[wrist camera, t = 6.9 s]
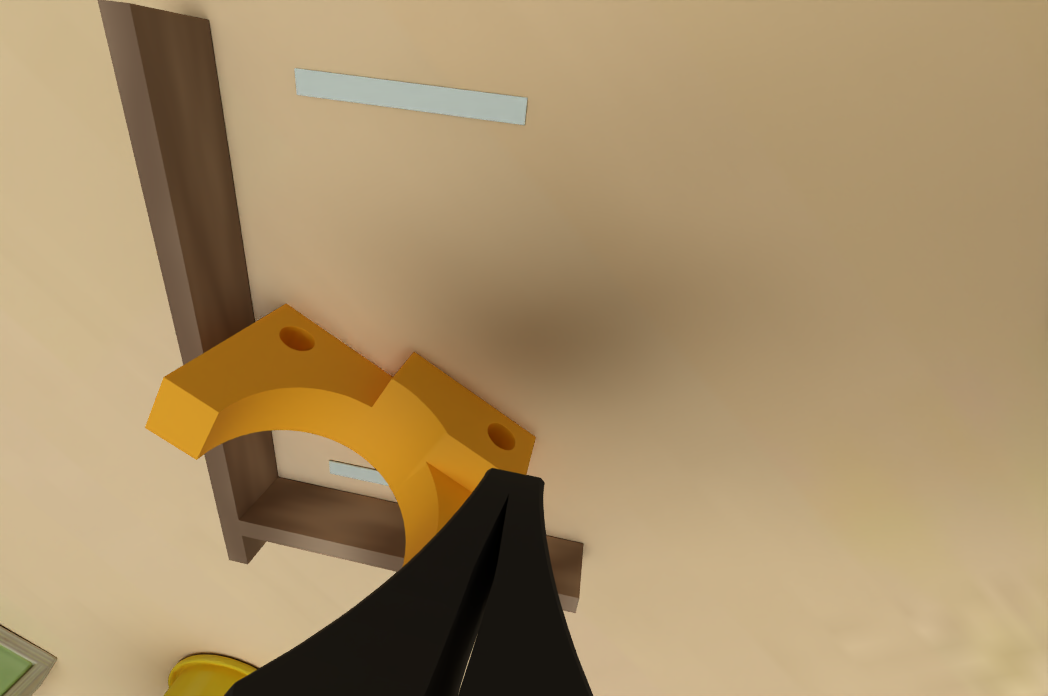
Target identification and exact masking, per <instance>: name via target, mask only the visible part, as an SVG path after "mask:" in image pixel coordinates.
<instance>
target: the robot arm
mask: <svg viewBox="0 0 1048 696" xmlns="http://www.w3.org/2000/svg"><path fill="white" fill-rule="evenodd" d="M543 491H544V481H543V480H542V479H541V478H539V477H534V476H529V475H524V474H520V473H515V472H510V471H505V470H500V469H496V468H491V469H489V470H487V472H486V473H485V475H484V477H483V478H482V480H481V481H480V482H479V484H478V485H477V487H476V488H475V489H474V491H473V492H472V493H471V495H470V496H469V497H468V498H467V500H466V501H465V502H464V503H463V505H462V506H461V507H460V508H459V509H458V511H457V512H456V513H455V514H454V515H453V516H452V517H451V519H450V520H449V521H448V522H447V523H446V524H445V525H444V527H443V528H442V529H441V530H440V531H439V532H438V533H437V534H436V535H435V536H434V537H433V538H432V539H431V540H430V541H429V542H428V543H427V544H426V545H425V546H424V547H423V548H422V549H421V550H420V551H419V552H418V553H417V554H416V555H415V556H414V557H413V558H412V559H411V560H410V561H409V562H408V563H407V564H405V565H404V566H403V567H402V568H401V569H400V570H399V571H398V572H396V573H395V574H394V575H393V576H392V577H391V578H390V579H388V580H387V581H386V582H385V583H384V584H382V585H381V586H380V587H379V588H377V589H376V590H375V591H374V592H372V593H371V594H370V595H369V596H367V597H366V598H365V599H364V600H362V601H361V602H360V603H358V604H357V605H356V606H354V607H353V608H352V609H350V610H349V611H348V612H346V613H345V614H344V615H342V616H341V617H339V618H338V619H336V620H335V621H333V622H332V623H331V624H329V625H328V626H326V627H325V628H323V629H322V630H320V631H319V632H317V633H316V634H314V635H313V636H311V637H310V638H308V639H307V640H305V641H304V642H302V643H301V644H299V645H298V646H296V647H295V648H293V649H291V650H290V651H288V652H286V653H285V654H283V655H281V656H280V657H278V658H276V659H274V660H273V661H271V662H269V663H268V664H266V665H264V666H263V667H261V668H259V669H257V670H256V671H254V672H252V673H251V674H249V675H247V676H245V677H244V678H242V679H240V680H238V681H237V682H235V683H234V684H233V685H232V686H231V688H230V689H229V690H228V691H227V692H226V693H225V695H224V696H593V694H592V691H591V689H590V686H589V684H588V681H587V679H586V676H585V674H584V671H583V669H582V666H581V663H580V661H579V658H578V656H577V653H576V650H575V647H574V644H573V641H572V638H571V635H570V632H569V629H568V626H567V623H566V619H565V616H564V613H563V610H562V606H561V602H560V599H559V595H558V591H557V587H556V583H555V579H554V574H553V570H552V565H551V560H550V555H549V549H548V543H547V537H546V530H545V521H544V509H543ZM476 637H477V638H476ZM475 640H476V641H475ZM474 642H475V644H474ZM473 645H474V647H473ZM472 648H473V651H472ZM471 651H472V654H471ZM470 654H471V657H470ZM469 657H470V660H469ZM468 660H469V663H468ZM467 663H468V666H467ZM466 666H467V669H466ZM465 669H466V673H465V676H464V672H465ZM463 676H464V679H463ZM462 679H463V682H462ZM461 682H462V685H461ZM460 686H461V688H460ZM459 689H460V691H459ZM458 693H459V694H458Z"/></svg>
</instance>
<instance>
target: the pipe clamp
mask: <svg viewBox="0 0 1048 696" xmlns="http://www.w3.org/2000/svg"><path fill="white" fill-rule="evenodd" d="M145 428H146V429H148V430H149V431H151V432H153V433H154V434H156V435H157V436H159V437H161V438H162V439H164V440H166V441H167V442H169V443H170V444H172V445H174V446H175V447H177V448H178V449H180V450H182V451H183V452H185V453H186V454H188V455H190V456H191V457H193V458H194V459H196V460H197V459H198V458H200V457H201V456H202V455H204V454H205V453H206V452H208V451H210V450H211V449H213V448H215V447H216V446H218V445H220V444H222V443H224V442H226V441H228V440H231V439H234V438H236V437H239V436H242V435H246V434H250V433H255V432H261V431H269V430H293V431H302V432H308V433H312V434H316V435H320V436H323V437H326V438H329V439H332V440H334V441H336V442H338V443H341V444H343V445H344V446H346V447H348V448H350V449H352V450H353V451H355V452H356V453H358V454H359V455H360V456H362V457H363V458H364V459H365V460H367V461H368V462H369V463H370V464H371V465H372V466H373V467H374V468H375V469H376V470H377V471H378V472H379V473H380V474H381V475H382V477H383V478H384V479H385V481H386V482H387V483H388V485H389V487H390V488H391V490H392V492H393V493H394V495H395V498H396V500H397V502H398V504H399V507H400V510H401V513H402V517H403V520H404V527H405V536H406V547H405V556H404V563H403V566H404V565H405V564H407V563H408V562H409V561H410V560H411V559H412V558H413V557H414V556H415V555H416V554H417V553H418V552H419V551H420V550H421V549H422V548H423V547H424V546H425V545H426V544H427V543H428V542H429V541H430V540H431V539H432V538H433V537H434V536H435V535H436V534H437V533H438V532H439V531H440V530H441V529H442V528H443V527H444V525H445V524H446V523H447V522H448V521H449V520H450V519H451V517H452V516H453V515H454V514H455V513H456V512H457V511H458V509H459V508H460V507H461V506H462V505H463V503H464V502H465V501H466V500H467V498H468V497H469V496H470V495H471V493H472V492H473V491H474V489H475V488H476V487H477V485H478V484H479V482H480V481H481V480H482V478H483V477H484V475H485V473H486V472H487V470H489V469H491V468H496V469H500V470H505V471H510V472H515V473H520V474H524V475H526V474H527V470H528V466H529V462H530V458H531V454H532V450H533V446H534V442H535V438H536V437H535V436H533V435H532V434H530V433H529V432H528V431H526V430H525V429H523V428H522V427H520V426H519V425H518V424H516V423H515V422H513V421H512V420H510V419H509V418H508V417H506V416H505V415H503V414H502V413H501V412H499V411H498V410H496V409H495V408H493V407H492V406H491V405H489V404H488V403H486V402H485V401H483V400H482V399H481V398H479V397H478V396H476V395H475V394H474V393H472V392H471V391H469V390H468V389H466V388H465V387H464V386H462V385H461V384H459V383H458V382H456V381H455V380H454V379H452V378H451V377H449V376H448V375H447V374H445V373H444V372H442V371H441V370H439V369H438V368H437V367H435V366H434V365H432V364H431V363H430V362H428V361H427V360H425V359H424V358H422V357H421V356H420V355H418V354H417V353H415V352H414V353H413V354H412V355H411V356H410V357H409V359H408V360H407V361H406V362H405V363H404V365H403V366H402V367H401V368H400V369H399V371H398V372H397V373H396V374H395V375H394V377H392V376H390V375H389V374H387V373H386V372H384V371H383V370H382V369H380V368H379V367H377V366H376V365H374V364H373V363H371V362H370V361H369V360H367V359H366V358H364V357H363V356H361V355H360V354H358V353H357V352H355V351H354V350H353V349H351V348H350V347H348V346H347V345H345V344H344V343H342V342H341V341H340V340H338V339H337V338H335V337H334V336H332V335H331V334H329V333H328V332H327V331H325V330H324V329H322V328H321V327H319V326H318V325H316V324H315V323H313V322H312V321H311V320H309V319H308V318H306V317H305V316H303V315H302V314H300V313H299V312H298V311H296V310H295V309H293V308H292V307H290V306H289V305H287V304H285V305H283V306H281V307H280V308H278V309H276V310H275V311H273V312H271V313H270V314H268V315H266V316H265V317H263V318H261V319H260V320H258V321H256V322H255V323H253V324H251V325H250V326H248V327H246V328H245V329H243V330H241V331H240V332H238V333H236V334H235V335H233V336H231V337H230V338H228V339H226V340H225V341H223V342H221V343H220V344H218V345H216V346H215V347H213V348H211V349H210V350H208V351H206V352H205V353H203V354H201V355H200V356H198V357H196V358H195V359H193V360H191V361H190V362H188V363H186V364H185V365H183V366H181V367H180V368H178V369H177V370H175V371H173V372H172V373H170V374H168V375H167V376H165V377H164V378H163V381H162V383H161V386H160V389H159V391H158V394H157V397H156V399H155V402H154V405H153V408H152V410H151V413H150V416H149V418H148V421H147V424H146V426H145ZM403 566H402V567H403Z"/></svg>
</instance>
